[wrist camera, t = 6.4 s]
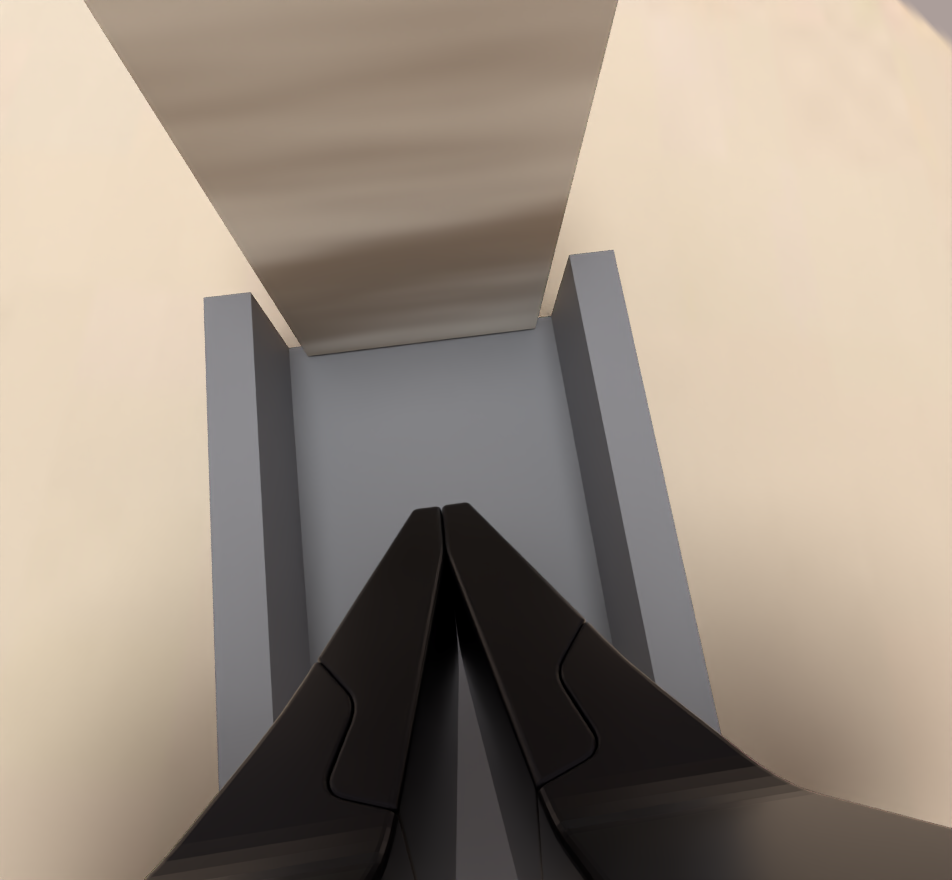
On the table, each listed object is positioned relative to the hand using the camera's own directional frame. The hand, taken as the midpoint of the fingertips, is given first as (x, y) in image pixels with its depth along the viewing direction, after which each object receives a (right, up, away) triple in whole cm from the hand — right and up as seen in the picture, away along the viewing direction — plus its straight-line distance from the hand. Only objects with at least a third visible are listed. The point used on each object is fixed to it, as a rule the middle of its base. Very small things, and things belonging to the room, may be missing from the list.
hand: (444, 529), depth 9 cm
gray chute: (0, -3, +6) cm, 7 cm away
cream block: (-1, +6, +7) cm, 9 cm away
